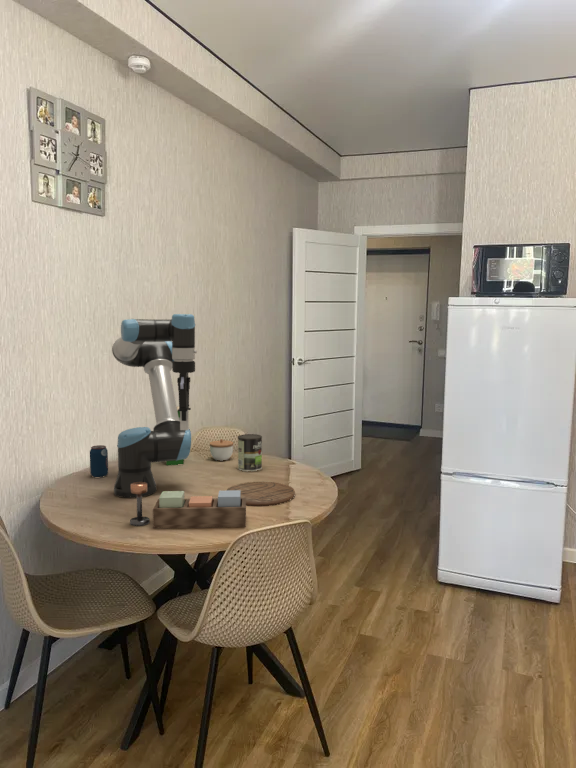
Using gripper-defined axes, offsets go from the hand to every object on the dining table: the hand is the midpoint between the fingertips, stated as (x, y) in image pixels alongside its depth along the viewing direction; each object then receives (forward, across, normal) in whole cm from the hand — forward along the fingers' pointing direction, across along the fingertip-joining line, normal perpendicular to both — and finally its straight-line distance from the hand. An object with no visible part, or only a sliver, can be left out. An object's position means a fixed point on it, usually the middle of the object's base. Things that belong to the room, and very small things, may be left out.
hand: (184, 429), depth 195 cm
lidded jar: (+27, +64, -9) cm, 70 cm away
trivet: (+27, +9, -26) cm, 38 cm away
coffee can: (+27, +47, -22) cm, 58 cm away
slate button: (+21, -18, -16) cm, 32 cm away
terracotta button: (+23, -18, -7) cm, 30 cm away
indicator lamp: (+26, -18, +12) cm, 34 cm away
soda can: (+27, +38, +39) cm, 61 cm away
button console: (+26, -18, -7) cm, 32 cm away
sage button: (+21, -18, +2) cm, 28 cm away
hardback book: (+27, +63, +12) cm, 69 cm away
